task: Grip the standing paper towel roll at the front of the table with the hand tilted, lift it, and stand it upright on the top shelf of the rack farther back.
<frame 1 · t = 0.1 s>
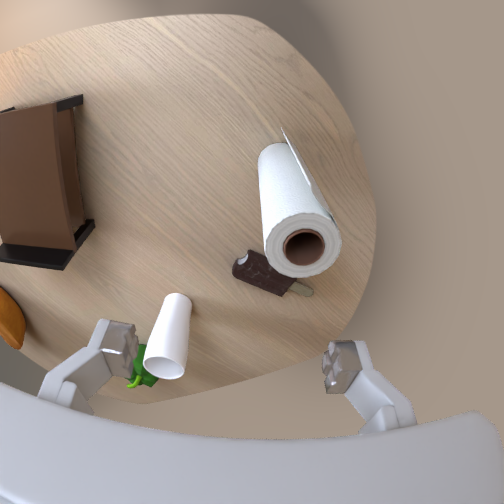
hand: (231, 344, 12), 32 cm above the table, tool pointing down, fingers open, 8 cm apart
ice cream bar: (276, 274, 52), on the table
bell pepper: (145, 350, 64), on the table
rack: (47, 166, 39), on the table
drinking glass: (178, 301, 55), on the table
paper towel roll: (281, 159, 40), on the table
bread: (6, 304, 57), on the table
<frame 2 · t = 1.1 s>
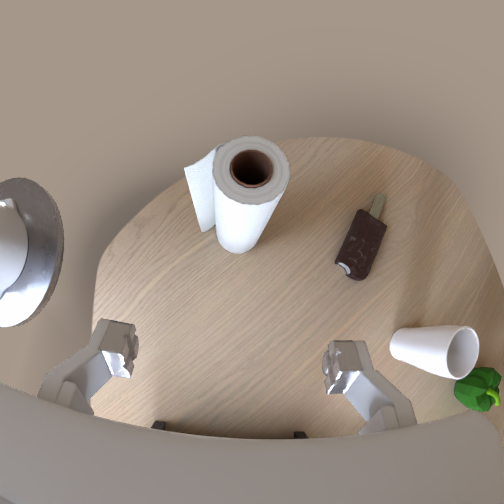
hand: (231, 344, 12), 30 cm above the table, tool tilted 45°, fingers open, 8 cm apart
ice cream bar: (364, 233, 45), on the table
bell pepper: (462, 385, 42), on the table
drinking glass: (400, 343, 43), on the table
paper towel roll: (234, 231, 43), on the table
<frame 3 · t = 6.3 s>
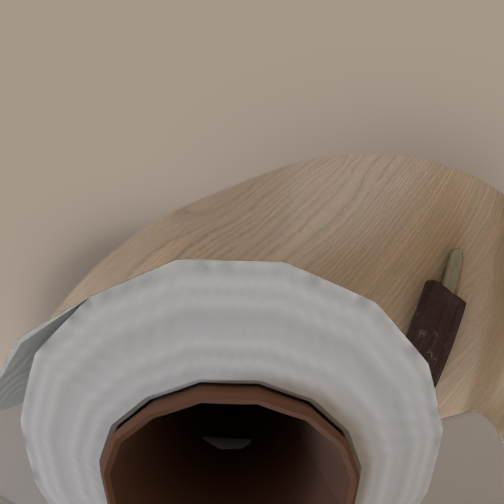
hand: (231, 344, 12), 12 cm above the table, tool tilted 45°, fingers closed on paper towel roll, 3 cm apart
ice cream bar: (433, 316, 26), on the table
paper towel roll: (226, 333, 24), on the table, touching gripper
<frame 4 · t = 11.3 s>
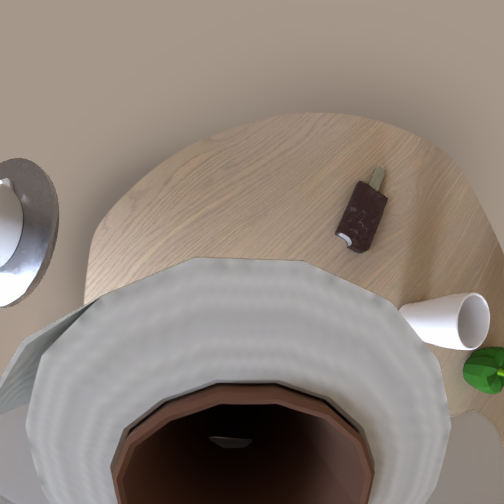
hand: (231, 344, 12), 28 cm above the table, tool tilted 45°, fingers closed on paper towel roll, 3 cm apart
ice cream bar: (364, 206, 44), on the table
bell pepper: (471, 367, 41), on the table
drinking glass: (406, 320, 41), on the table
paper towel roll: (222, 333, 24), point 15 cm above the table, touching gripper
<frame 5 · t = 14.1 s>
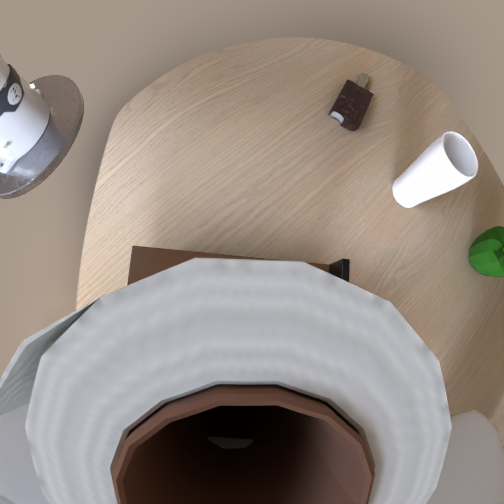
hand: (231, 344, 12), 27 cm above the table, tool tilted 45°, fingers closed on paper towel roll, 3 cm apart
ice cream bar: (353, 100, 46), on the table
bell pepper: (476, 257, 43), on the table
rack: (227, 327, 38), on the table
drinking glass: (403, 193, 44), on the table
paper towel roll: (222, 333, 24), point 15 cm above the table, touching gripper
when the fingers open (20 cm above the table, at t = 16.3 s): paper towel roll stays where it is, resting on rack.
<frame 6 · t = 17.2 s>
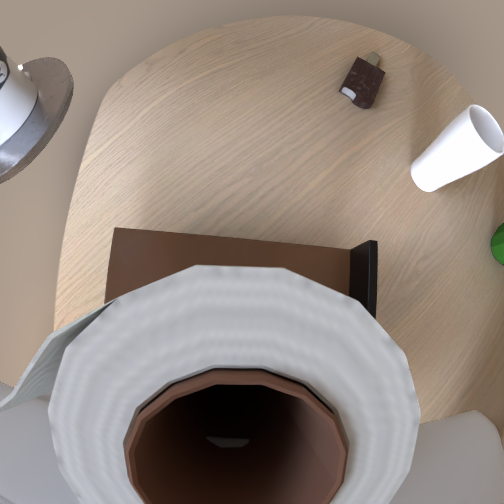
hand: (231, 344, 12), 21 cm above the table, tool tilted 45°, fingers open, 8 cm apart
ice cream bar: (364, 78, 41), on the table
bell pepper: (498, 248, 38), on the table
rack: (227, 327, 32), on the table
drinking glass: (422, 176, 38), on the table
paper towel roll: (221, 332, 24), point 8 cm above the table, touching rack
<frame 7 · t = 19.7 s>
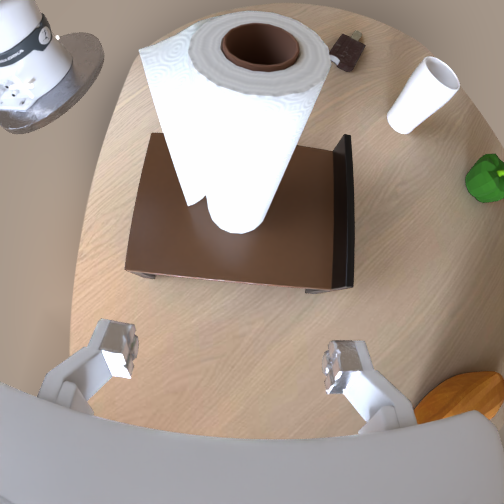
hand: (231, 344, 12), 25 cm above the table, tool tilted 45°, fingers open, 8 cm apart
ice cream bar: (348, 50, 48), on the table
bell pepper: (473, 187, 44), on the table
rack: (235, 224, 39), on the table
drinking glass: (398, 123, 45), on the table
paper towel roll: (233, 203, 31), point 8 cm above the table, touching rack
bread: (443, 412, 37), on the table
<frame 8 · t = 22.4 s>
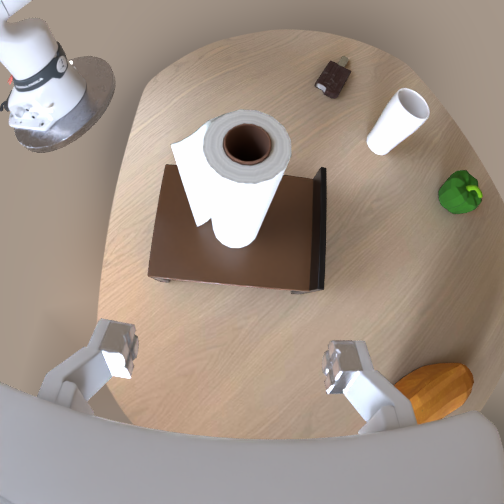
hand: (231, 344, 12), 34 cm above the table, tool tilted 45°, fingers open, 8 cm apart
ice cream bar: (335, 76, 57), on the table
bell pepper: (446, 200, 53), on the table
rack: (234, 237, 48), on the table
drinking glass: (376, 144, 54), on the table
paper towel roll: (232, 224, 40), point 8 cm above the table, touching rack
bread: (416, 399, 46), on the table
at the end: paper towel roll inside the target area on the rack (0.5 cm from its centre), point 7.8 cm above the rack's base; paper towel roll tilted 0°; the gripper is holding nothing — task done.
